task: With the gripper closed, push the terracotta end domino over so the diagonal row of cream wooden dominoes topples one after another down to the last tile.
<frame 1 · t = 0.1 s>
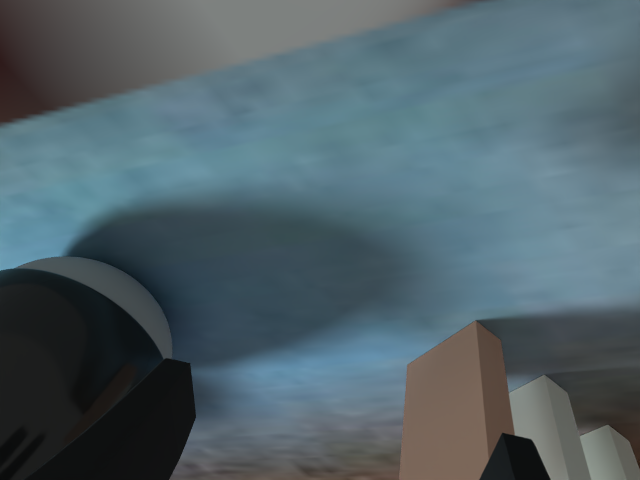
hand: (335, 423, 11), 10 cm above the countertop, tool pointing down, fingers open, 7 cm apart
domino 3: (578, 449, 25), on the countertop
end domino: (452, 353, 23), on the countertop
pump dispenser: (115, 303, 26), on the countertop
domino 4: (517, 402, 24), on the countertop
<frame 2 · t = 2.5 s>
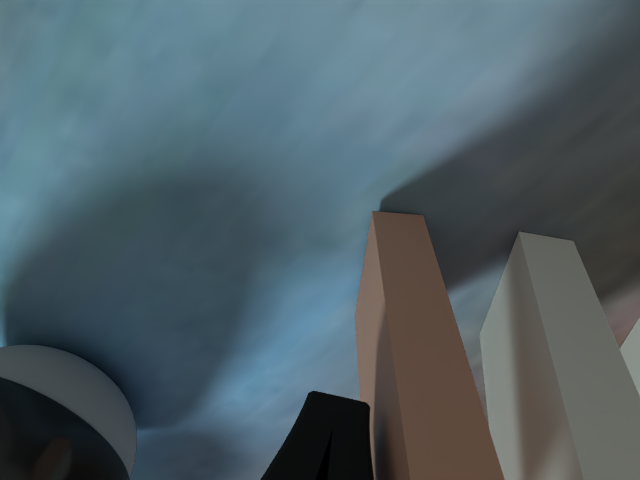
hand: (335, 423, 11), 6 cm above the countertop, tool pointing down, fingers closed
end domino: (386, 268, 16), on the countertop, tilted 11°
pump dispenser: (78, 383, 24), on the countertop
domino 4: (522, 291, 16), on the countertop
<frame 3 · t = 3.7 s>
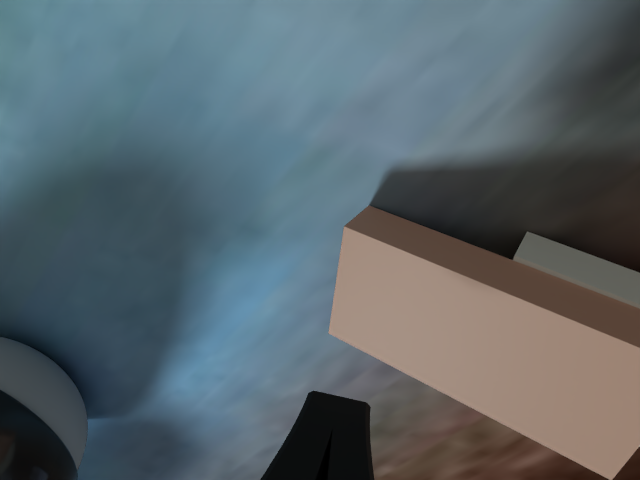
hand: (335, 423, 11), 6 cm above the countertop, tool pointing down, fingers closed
end domino: (347, 272, 16), point 1 cm above the countertop, tilted 70°, touching domino 4
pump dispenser: (33, 373, 25), on the countertop
domino 4: (497, 299, 15), point 1 cm above the countertop, tilted 69°, touching domino 3, end domino
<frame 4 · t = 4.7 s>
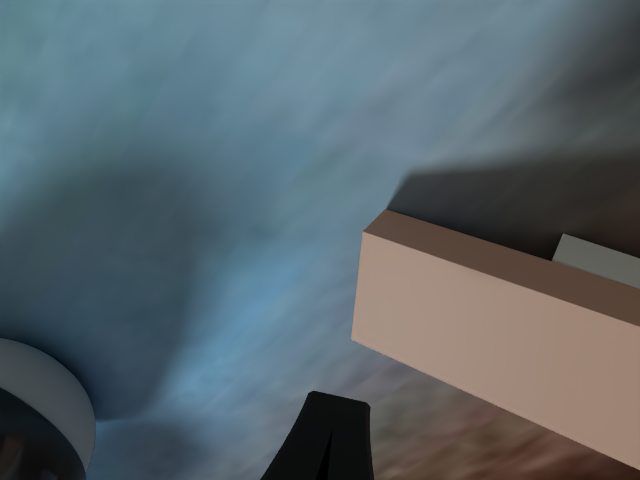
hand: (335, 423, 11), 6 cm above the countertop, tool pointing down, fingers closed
end domino: (367, 276, 16), point 1 cm above the countertop, tilted 71°, touching domino 4
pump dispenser: (40, 376, 25), on the countertop
domino 4: (533, 302, 15), point 1 cm above the countertop, tilted 69°, touching domino 3, end domino
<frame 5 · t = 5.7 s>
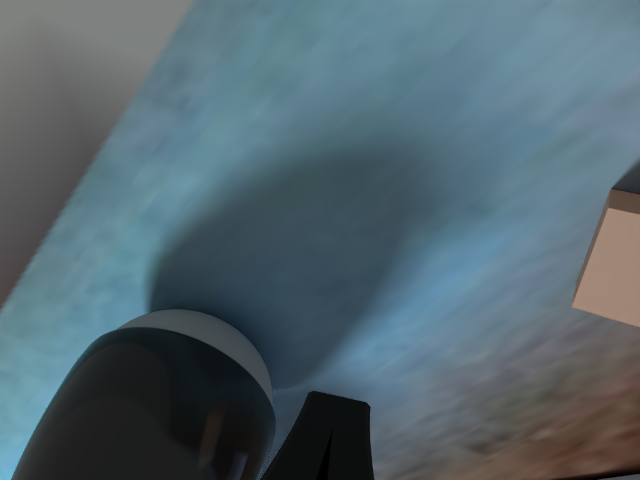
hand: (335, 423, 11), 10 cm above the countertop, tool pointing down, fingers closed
end domino: (590, 249, 18), point 1 cm above the countertop, tilted 72°, touching domino 4
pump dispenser: (209, 348, 27), on the countertop
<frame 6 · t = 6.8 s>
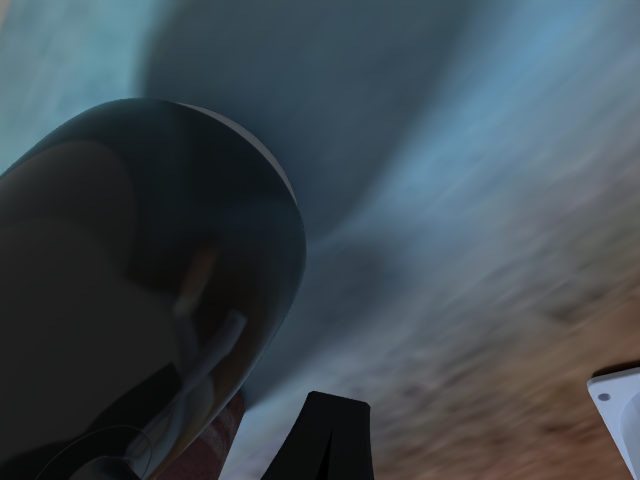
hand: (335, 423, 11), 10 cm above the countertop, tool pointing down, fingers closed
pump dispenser: (216, 187, 21), on the countertop
can: (199, 387, 29), on the countertop
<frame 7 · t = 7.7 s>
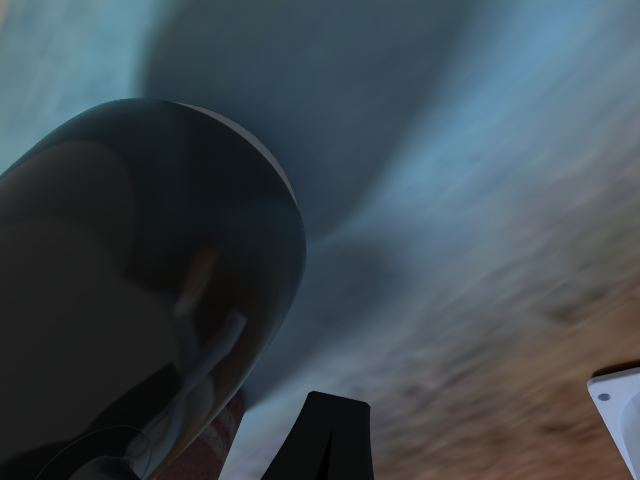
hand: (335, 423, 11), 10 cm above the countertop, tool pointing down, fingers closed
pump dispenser: (216, 188, 21), on the countertop
can: (199, 387, 29), on the countertop
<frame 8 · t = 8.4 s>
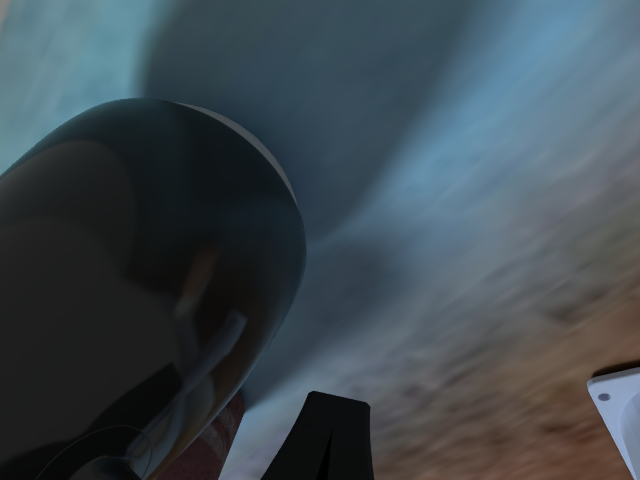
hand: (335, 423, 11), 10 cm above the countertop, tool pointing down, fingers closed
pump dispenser: (216, 187, 21), on the countertop
can: (199, 387, 29), on the countertop
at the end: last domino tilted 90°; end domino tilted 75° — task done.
